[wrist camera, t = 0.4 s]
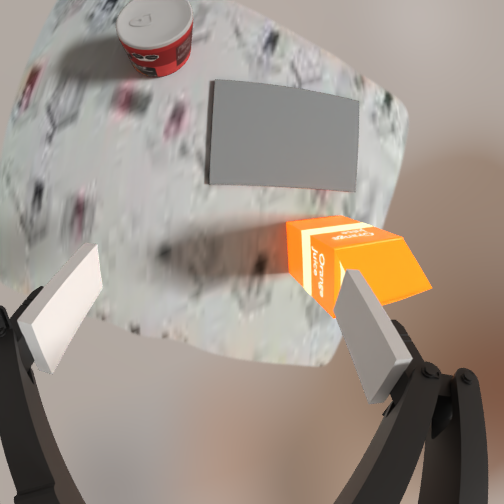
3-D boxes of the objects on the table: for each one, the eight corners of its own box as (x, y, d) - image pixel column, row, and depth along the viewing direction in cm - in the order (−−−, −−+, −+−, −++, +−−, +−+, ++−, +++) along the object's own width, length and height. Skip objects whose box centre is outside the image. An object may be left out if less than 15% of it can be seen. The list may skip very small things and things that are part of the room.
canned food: (123, 47, 30) (105, 11, 19) (177, 22, 30) (176, -20, 20) (144, 89, 32) (130, 61, 22) (200, 63, 33) (205, 27, 22)
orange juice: (285, 221, 41) (364, 265, 22) (341, 214, 43) (438, 249, 24) (288, 274, 43) (358, 347, 25) (342, 264, 45) (428, 322, 26)
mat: (214, 80, 34) (215, 79, 33) (357, 101, 38) (359, 101, 38) (209, 183, 38) (209, 184, 37) (353, 191, 42) (355, 192, 41)
